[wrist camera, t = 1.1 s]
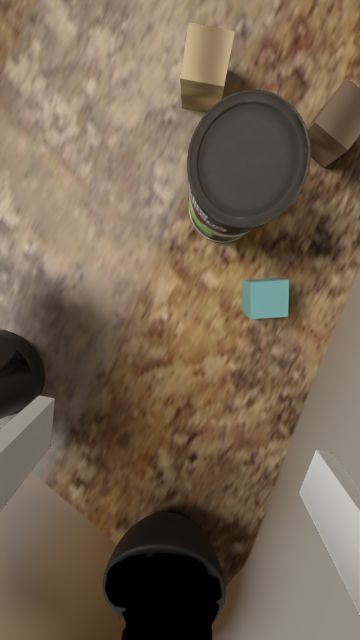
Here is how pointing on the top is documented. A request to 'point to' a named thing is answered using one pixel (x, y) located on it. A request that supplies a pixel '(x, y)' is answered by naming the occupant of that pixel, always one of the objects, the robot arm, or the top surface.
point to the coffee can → (245, 164)
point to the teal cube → (265, 298)
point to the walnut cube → (336, 125)
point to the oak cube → (205, 66)
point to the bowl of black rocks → (165, 580)
